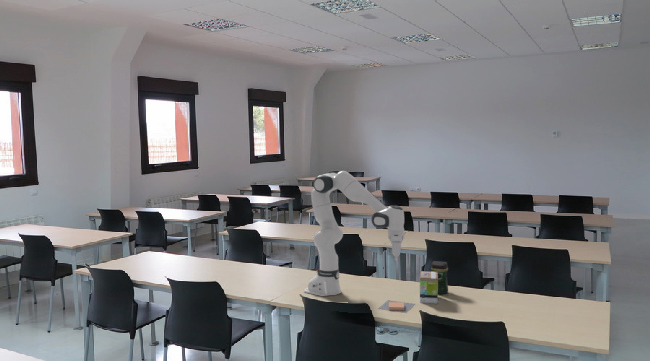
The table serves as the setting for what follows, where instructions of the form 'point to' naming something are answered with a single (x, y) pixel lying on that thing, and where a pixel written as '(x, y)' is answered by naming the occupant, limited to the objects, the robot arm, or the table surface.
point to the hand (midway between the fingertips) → (396, 260)
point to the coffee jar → (441, 275)
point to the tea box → (428, 287)
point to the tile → (396, 306)
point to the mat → (406, 308)
